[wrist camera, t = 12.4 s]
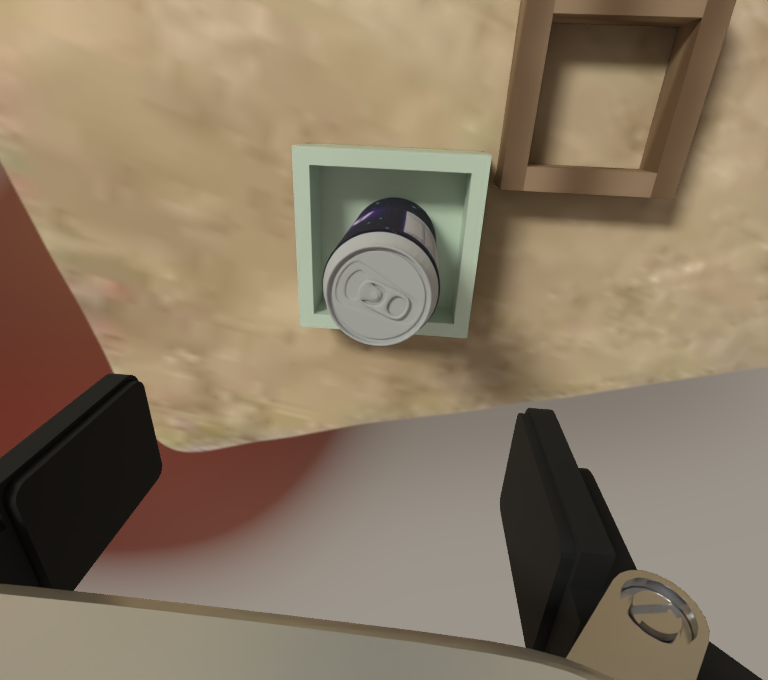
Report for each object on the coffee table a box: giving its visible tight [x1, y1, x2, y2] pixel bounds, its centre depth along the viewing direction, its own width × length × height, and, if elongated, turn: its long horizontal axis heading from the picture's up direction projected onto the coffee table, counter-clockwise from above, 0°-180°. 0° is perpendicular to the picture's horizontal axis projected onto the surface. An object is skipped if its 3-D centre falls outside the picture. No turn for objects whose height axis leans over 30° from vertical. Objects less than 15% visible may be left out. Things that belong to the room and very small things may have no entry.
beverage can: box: [322, 197, 440, 346], centre depth 26 cm, size 6×6×12 cm
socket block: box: [495, 0, 736, 199], centre depth 26 cm, size 10×10×2 cm
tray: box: [292, 143, 492, 338], centre depth 30 cm, size 12×12×4 cm
